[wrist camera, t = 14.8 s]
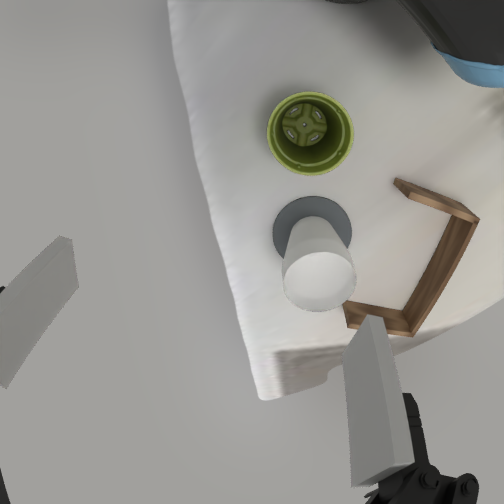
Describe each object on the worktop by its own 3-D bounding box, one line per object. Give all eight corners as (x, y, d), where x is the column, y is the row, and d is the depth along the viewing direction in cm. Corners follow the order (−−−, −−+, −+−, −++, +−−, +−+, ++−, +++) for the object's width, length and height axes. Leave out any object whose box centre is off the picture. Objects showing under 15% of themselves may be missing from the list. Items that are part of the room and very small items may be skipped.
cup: (312, 271, 48) (318, 323, 38) (269, 237, 46) (265, 285, 36) (353, 234, 44) (372, 281, 34) (311, 195, 42) (321, 235, 32)
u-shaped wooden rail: (342, 304, 52) (347, 327, 47) (395, 177, 40) (410, 191, 34) (404, 315, 52) (412, 337, 47) (461, 203, 40) (480, 219, 35)
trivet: (313, 179, 41) (313, 181, 41) (366, 233, 45) (367, 235, 44) (256, 234, 46) (256, 236, 46) (310, 279, 50) (310, 281, 49)
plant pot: (352, 132, 37) (370, 143, 30) (299, 171, 41) (303, 191, 33) (309, 77, 34) (317, 74, 27) (255, 120, 38) (248, 128, 30)
